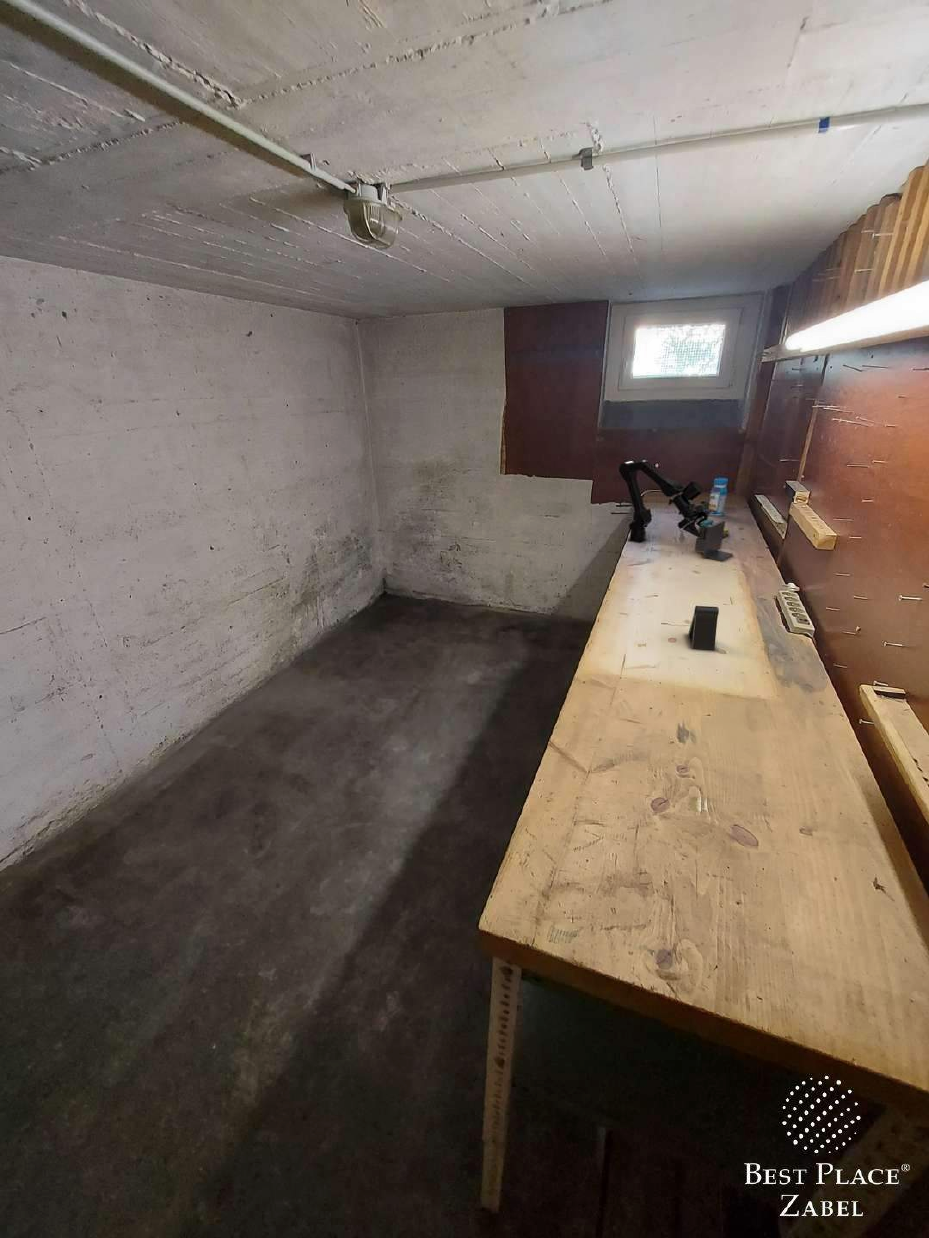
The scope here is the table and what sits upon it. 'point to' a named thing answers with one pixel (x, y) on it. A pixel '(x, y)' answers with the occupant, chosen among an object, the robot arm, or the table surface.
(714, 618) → the phone stand
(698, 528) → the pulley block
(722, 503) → the beverage bottle
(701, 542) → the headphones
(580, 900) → the table surface
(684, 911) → the table surface
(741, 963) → the table surface
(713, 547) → the dark panel
